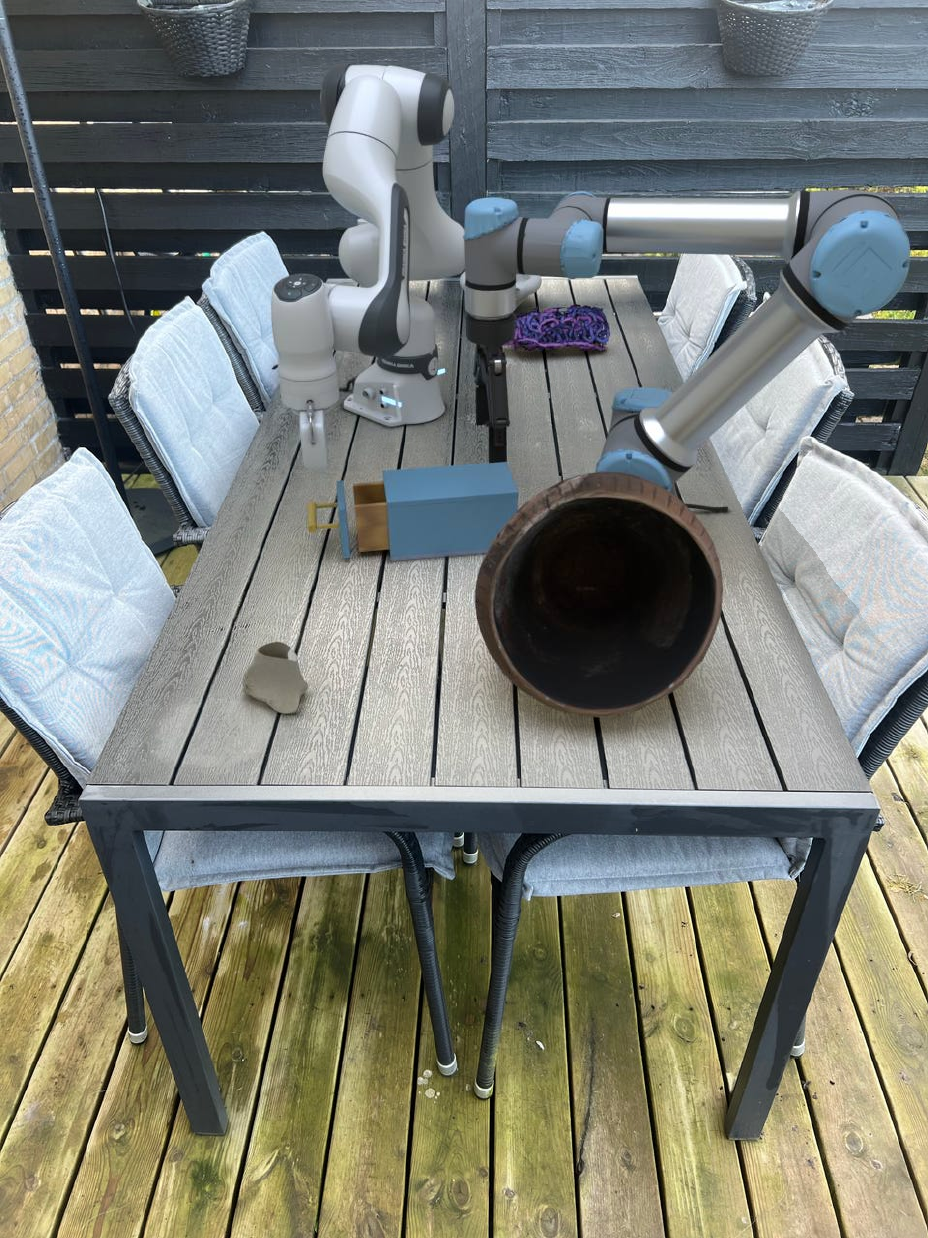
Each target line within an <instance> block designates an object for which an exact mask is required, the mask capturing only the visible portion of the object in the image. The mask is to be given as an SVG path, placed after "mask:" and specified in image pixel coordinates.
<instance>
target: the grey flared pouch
mask: <svg viewBox="0 0 928 1238" xmlns="http://www.w3.org/2000/svg"><path fill="white" fill-rule="evenodd" d="M297 655H298V654H296V652H295V651H294V649H292V647H291V646H290V645H288V644H286V643H285V642H281V641H274V642H269V643H266V644H264V645H262V646H260V647H259V648H258V649H257V651H256V653H255V654H254V656H253V659H252V660H251V663H250V664H249V665H248V667H247V669H246V670H245V672H244V674H243V677H242V681H241V685H242V693H243V694H244V695H248V696H251V697H253V698H254V699H256V700H258V701H262V702H264V703H266V704H267V705H268V706H269V707H270V708H272V709H273V710H274V711H275V712H277V713H280V714H283V715H286V714H295V713H296V712H297V711H298V708H299V705H300V699H301V697H302V696H303V694H304V693H305V692H306V691H308V689H309V682H308V681H307V680H305V679H304V677H303V675H302V673H301V672H302V671H301V668H300V665H299V659H298V656H297Z"/></svg>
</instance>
